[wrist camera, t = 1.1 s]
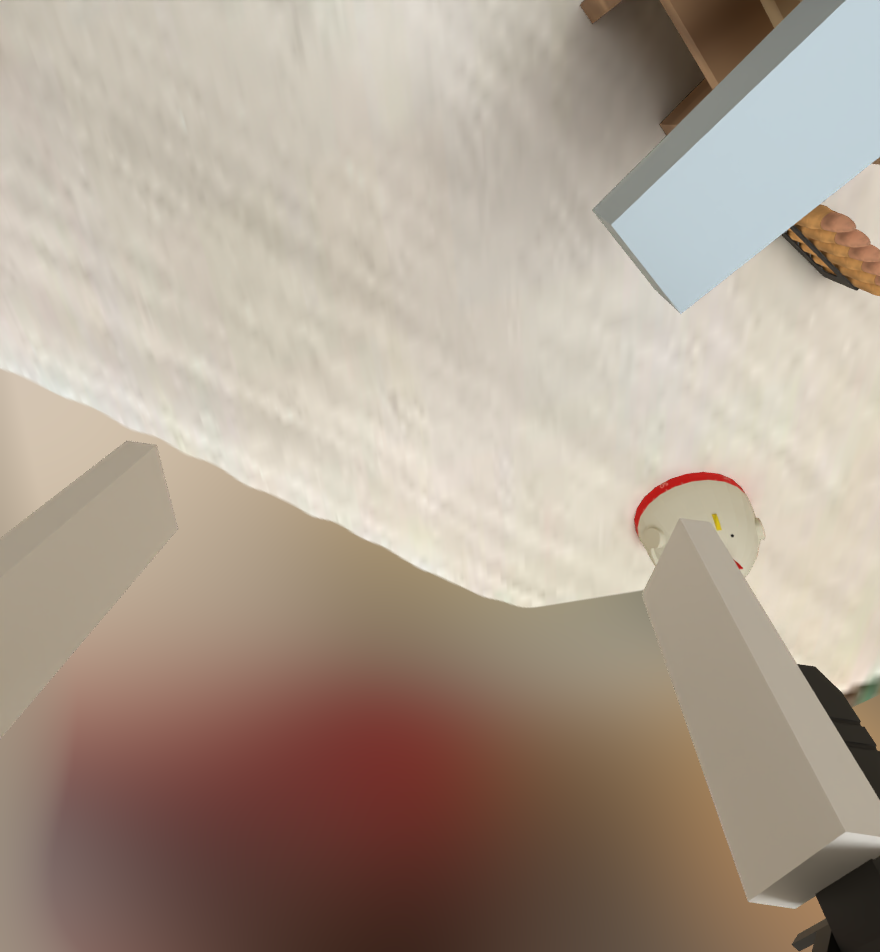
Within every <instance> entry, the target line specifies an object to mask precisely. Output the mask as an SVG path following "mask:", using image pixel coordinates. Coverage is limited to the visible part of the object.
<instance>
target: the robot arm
mask: <svg viewBox="0 0 880 952" xmlns="http://www.w3.org/2000/svg"><path fill="white" fill-rule="evenodd" d="M177 530H178V526H177V523H176V519H175V515H174V511H173V508H172V504H171V499H170V495H169V492H168V487H167V484H166V480H165V476H164V472H163V468H162V464H161V460H160V456H159V453H158V449H157V445H152V444H146V443H138V442H131V441H126V442H124V443H123V444H122V445H121V446H119V447H118V448H117V449H115V450H114V451H113V452H111V453H110V454H109V455H108V456H106V457H105V458H104V459H102V460H101V461H100V462H98V463H97V464H96V465H95V466H93V467H92V468H91V469H89V470H88V471H87V472H85V473H84V474H83V475H82V476H80V477H79V478H78V479H76V480H75V481H74V482H72V483H71V484H70V485H69V486H67V487H66V488H65V489H63V490H62V491H61V492H59V493H58V494H57V495H56V496H54V497H53V498H52V499H51V500H49V501H48V502H46V503H45V504H44V505H43V506H41V507H40V508H39V509H37V510H36V511H35V512H33V513H32V514H31V515H30V516H28V517H27V518H26V519H25V520H23V521H22V522H20V523H19V524H18V525H17V526H16V527H14V528H13V529H11V530H10V531H9V532H7V533H6V534H5V535H4V536H2V537H1V538H0V739H1V737H2V736H3V735H4V734H5V733H6V732H7V730H8V729H9V728H10V727H11V726H12V724H13V723H14V722H15V721H16V720H17V719H18V717H19V716H20V715H21V714H22V713H23V712H24V710H25V709H26V708H27V707H28V706H29V704H30V703H31V702H32V701H33V700H34V699H35V697H36V696H37V695H38V694H39V693H40V692H41V690H42V689H43V688H44V687H45V686H46V684H47V683H48V682H49V681H50V680H51V679H52V677H53V676H54V675H55V674H56V672H58V670H59V669H60V668H61V667H62V666H63V664H64V663H65V662H66V661H67V659H69V657H70V656H71V655H72V654H73V653H74V651H75V650H76V649H77V648H78V647H79V645H80V644H81V643H82V642H83V641H84V640H85V638H86V637H87V636H88V635H89V633H91V631H92V630H93V629H94V628H95V627H96V626H97V624H98V623H99V622H100V621H101V620H102V618H103V617H104V616H105V615H106V614H107V612H108V611H109V610H110V609H111V608H112V607H113V605H114V604H115V603H116V602H117V601H118V599H119V598H120V597H121V596H122V595H123V594H124V592H125V591H126V590H127V589H128V588H129V587H130V585H131V584H132V583H133V582H134V581H135V579H136V578H137V577H138V576H139V575H140V574H141V572H142V571H143V570H144V569H145V567H146V566H147V565H148V564H149V563H150V562H151V561H152V559H153V558H154V557H155V556H156V555H157V554H158V552H159V551H160V550H161V549H162V548H163V546H164V545H165V544H166V543H167V542H168V540H169V539H170V538H171V537H172V536H173V535H174V533H175V532H176V531H177ZM642 597H643V600H644V603H645V606H646V609H647V612H648V615H649V618H650V620H651V623H652V626H653V629H654V632H655V635H656V638H657V641H658V643H659V646H660V649H661V652H662V655H663V658H664V660H665V664H666V667H667V669H668V672H669V675H670V678H671V681H672V684H673V687H674V690H675V692H676V695H677V698H678V701H679V704H680V707H681V710H682V713H683V715H684V718H685V721H686V724H687V727H688V730H689V733H690V736H691V738H692V741H693V744H694V747H695V750H696V753H697V756H698V759H699V762H700V764H701V767H702V770H703V773H704V776H705V779H706V781H707V784H708V787H709V790H710V793H711V796H712V799H713V801H714V805H715V808H716V810H717V813H718V816H719V819H720V822H721V825H722V827H723V830H724V833H725V836H726V839H727V842H728V845H729V848H730V851H731V853H732V856H733V859H734V862H735V865H736V868H737V871H738V874H739V876H740V879H741V882H742V885H743V888H744V891H745V894H746V897H747V899H748V902H754V903H761V904H767V905H774V906H780V907H787V908H797V907H799V906H800V905H802V904H803V903H805V902H807V901H808V900H810V899H811V898H813V897H815V896H816V897H817V899H818V901H819V904H820V906H821V908H822V910H823V913H824V915H825V917H826V919H824V920H823V921H821V922H819V923H817V924H816V925H814V926H812V927H810V928H808V929H806V930H805V931H803V932H801V933H799V934H798V935H797V937H796V938H795V940H794V942H793V943H792V945H793V946H794V947H795V948H796V949H797V950H798V951H801V950H803V949H805V948H807V947H809V946H810V945H812V944H814V945H813V949H812V952H880V751H877V750H876V744H875V742H874V741H873V739H872V738H871V736H870V735H869V733H868V732H867V730H866V729H865V727H862V726H861V725H860V720H859V718H858V717H857V715H856V713H855V712H854V710H853V709H852V707H851V706H850V704H849V703H848V701H847V700H846V698H845V697H844V695H843V694H842V692H841V691H840V690H839V689H838V688H837V687H835V686H834V685H833V684H832V683H831V682H830V681H829V680H828V679H827V678H826V677H825V676H824V675H823V674H822V673H821V672H820V671H819V670H818V669H817V668H816V667H814V666H807V665H800V664H797V663H796V662H795V660H794V658H793V657H792V655H791V653H790V652H789V650H788V649H787V647H786V645H785V644H784V642H783V640H782V639H781V637H780V635H779V634H778V632H777V630H776V629H775V627H774V626H773V624H772V622H771V621H770V619H769V617H768V616H767V614H766V612H765V611H764V609H763V607H762V606H761V604H760V603H759V601H758V599H757V598H756V596H755V594H754V593H753V591H752V589H751V588H750V586H749V584H748V583H747V581H746V580H745V578H744V576H743V575H742V573H741V571H740V570H739V568H738V566H737V565H736V563H735V561H734V560H733V558H732V556H731V555H730V553H729V552H728V550H727V548H726V547H725V545H724V543H723V542H722V540H721V538H720V537H719V535H718V533H717V532H716V530H715V529H714V527H713V525H712V524H711V522H705V521H698V520H691V519H684V518H679V520H678V522H677V524H676V526H675V528H674V530H673V532H672V534H671V536H670V538H669V540H668V542H667V544H666V546H665V548H664V551H663V553H662V555H661V557H660V559H659V561H658V563H657V565H656V567H655V569H654V571H653V573H652V575H651V577H650V579H649V581H648V583H647V585H646V587H645V589H644V591H643V593H642Z"/></svg>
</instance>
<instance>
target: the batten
mask: <svg viewBox="0 0 880 952" xmlns="http://www.w3.org/2000/svg"><path fill="white" fill-rule="evenodd" d="M879 157H880V0H802V1H801V2H800V3H799V4H798V5H797V6H796V7H795V8H794V9H793V10H792V11H791V12H790V13H789V14H788V15H787V16H786V17H785V18H784V19H783V20H782V21H781V22H780V23H779V24H778V25H777V26H776V27H775V28H774V29H773V30H772V31H771V32H770V33H769V34H768V35H767V36H766V37H765V38H764V39H763V40H762V41H761V42H760V43H759V44H758V45H757V46H756V47H755V48H754V49H753V50H752V51H751V52H750V53H749V54H748V55H747V56H746V57H745V58H744V59H743V60H742V61H741V62H740V63H739V64H738V65H737V66H736V67H735V68H734V69H733V70H732V71H731V72H730V73H729V74H728V75H727V76H726V77H725V78H724V79H723V80H722V81H721V82H720V83H719V84H718V85H717V86H716V87H715V88H714V89H713V90H712V91H711V92H710V93H709V94H708V95H707V96H706V97H705V98H704V99H703V100H702V101H701V102H700V103H699V104H698V105H697V106H696V107H695V108H694V109H693V110H692V111H691V112H690V113H689V114H688V115H687V116H686V117H685V118H684V119H683V120H682V121H681V122H680V123H679V124H678V125H677V126H676V127H675V128H674V129H673V130H672V131H671V132H670V133H669V134H668V135H667V136H666V137H665V138H664V139H663V140H662V141H661V142H660V143H659V144H658V145H657V146H656V147H655V148H654V149H653V150H652V151H651V152H650V153H649V154H648V155H647V156H646V157H645V158H644V159H643V160H642V161H641V162H640V163H639V164H638V165H637V166H636V167H635V168H634V169H633V170H632V171H631V172H630V173H629V174H628V175H627V176H626V177H625V178H624V179H623V180H622V181H621V182H620V183H619V184H618V185H617V186H616V187H615V188H614V189H613V190H612V191H611V192H610V193H609V194H608V195H607V196H606V197H605V198H604V199H603V200H602V201H601V202H600V203H599V204H598V205H597V206H596V207H595V208H594V209H593V212H594V213H595V214H596V215H597V217H598V218H599V219H600V221H601V222H602V223H603V224H604V226H605V227H606V228H607V229H608V231H609V232H610V233H611V234H612V236H613V237H614V238H615V240H616V241H617V242H618V243H619V245H620V246H621V247H622V248H623V250H624V251H625V252H626V253H627V255H628V256H629V257H630V259H631V260H632V261H633V262H634V264H635V265H636V266H637V267H638V269H639V270H640V271H641V272H642V274H643V275H644V276H645V278H646V279H647V280H648V281H649V283H650V284H651V285H652V286H653V288H654V289H655V290H656V291H657V292H658V293H659V294H660V295H661V296H662V297H663V298H665V299H666V300H667V301H668V302H669V303H670V304H671V305H672V306H673V307H674V308H675V309H676V310H677V311H678V312H679V313H680V314H681V313H683V312H684V311H685V310H686V309H688V308H689V307H690V306H692V305H693V304H694V303H695V302H697V301H698V300H699V299H700V298H702V297H703V296H704V295H705V294H707V293H708V292H709V291H711V290H712V289H713V288H714V287H716V286H717V285H718V284H719V283H721V282H722V281H723V280H724V279H726V278H727V277H728V276H730V275H731V274H732V273H733V272H735V271H736V270H737V269H738V268H740V267H741V266H742V265H743V264H745V263H746V262H747V261H749V260H750V259H751V258H752V257H754V256H755V255H756V254H757V253H759V252H760V251H761V250H762V249H764V248H765V247H766V246H768V245H769V244H770V243H771V242H773V241H774V240H775V239H776V238H778V237H779V236H780V235H781V234H783V233H784V232H785V231H787V230H788V229H789V228H790V227H792V226H793V225H794V224H795V223H797V222H798V221H799V220H800V219H802V218H803V217H804V216H806V215H807V214H808V213H809V212H811V211H812V210H813V209H814V208H816V207H817V206H818V205H819V204H821V203H822V202H823V201H825V200H826V199H827V198H828V197H830V196H831V195H832V194H833V193H835V192H836V191H837V190H838V189H840V188H841V187H842V186H844V185H845V184H846V183H847V182H849V181H850V180H851V179H852V178H854V177H855V176H856V175H857V174H859V173H860V172H861V171H863V170H864V169H865V168H866V167H868V166H869V165H870V164H871V163H873V162H874V161H875V160H876V159H878V158H879Z"/></svg>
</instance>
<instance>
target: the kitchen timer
mask: <svg viewBox="0 0 880 952" xmlns="http://www.w3.org/2000/svg"><path fill="white" fill-rule="evenodd" d="M679 518H684V519H691V520H698V521H705V522H711V524H712V525H713V527H714V529H715V530H716V532H717V533H718V535H719V537H720V538H721V540H722V542H723V543H724V545H725V547H726V548H727V550H728V552H729V553H730V555H731V556H732V558H733V560H734V561H735V563H736V565H737V566H738V568H739V570H740V571H741V573H742V575H743V576H744V578H745V577H746V576H747V575H748V574H749V572H750V570H751V568H752V566H753V564H754V562H755V560H756V558H757V555H758V549H759V544H760V541H761V539H765V531H764V528H763V525H762V523H761V521H760V519H759V518H756V517H755V513H754V511H753V508H752V506H751V504H750V501H749V499H748V497H747V495H746V494H745V492H744V491H743V489H742V488H741V487H740V486H739V485H738V484H737V483H736V482H735V481H733V480H732V479H730V478H728V477H725V476H723V475H720V474H716V473H707V472H700V473H691V474H685V475H682V476H679V477H675V478H672V479H670V480H668V481H666V482H664V483H662V484H661V485H659V486H657V487H655V488H654V489H653V490H652V491H651V492H650V493H649V494H648V495H646V496H645V497H644V499H643V500H642V502H641V503H640V505H639V506H638V508H637V511H636V515H635V518H634V521H635V528H636V532H637V534H638V537H639V539H640V541H641V542H642V544H643V546H644V547H645V549H646V550H647V553H648V555H649V556H650V558H651V560H652V562H653V563H654V565H655V566H656V565H657V563H658V561H659V559H660V557H661V555H662V553H663V551H664V548H665V546H666V544H667V542H668V540H669V538H670V536H671V534H672V532H673V530H674V528H675V526H676V524H677V522H678V520H679Z"/></svg>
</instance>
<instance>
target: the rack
mask: <svg viewBox="0 0 880 952" xmlns="http://www.w3.org/2000/svg"><path fill="white" fill-rule="evenodd" d="M621 1H622V0H584V1H583V2H582V3H581V5H580V6H581V7H582V9H583V10H584V12H585V13H586V15H587V16H588V18H589V20H590V21H591V23H592V24H593V23H594V22H595V21H597V20H598V19H599V18H601V17H602V16H603V15H604V14H606V13H607V12H608V11H610V10H611V9H612V8H613V7H615V6H616V5H617V4H618V3H620V2H621ZM801 1H802V0H660V2H661V4H662V6H663V7H664V9H665V11H666V12H667V14H668V16H669V17H670V19H671V21H672V22H673V24H674V26H675V27H676V29H677V31H678V32H679V34H680V36H681V37H682V39H683V41H684V42H685V44H686V46H687V47H688V49H689V51H690V53H691V54H692V56H693V58H694V59H695V61H696V63H697V64H698V66H699V68H700V69H701V71H702V73H703V74H704V76H705V79H704V80H703V81H702V82H701V83H700V84H699V85H698V86H697V87H696V88H695V89H694V90H693V91H692V92H691V93H690V94H689V95H688V96H687V97H686V98H685V99H684V100H683V101H682V102H681V103H680V104H679V105H678V106H677V107H676V108H675V109H674V110H673V111H672V112H671V113H670V114H669V115H668V116H667V117H666V118H665V119H664V120H663V121H662V122H661V123H660V124H659V125H660V126H661V128H662V129H663V131H664V132H665V134H666V135H668V134H669V133H670V132H671V131H672V130H673V129H674V128H675V127H676V126H677V125H678V124H679V123H680V122H681V121H682V120H683V119H684V118H685V117H686V116H687V115H688V114H689V113H690V112H691V111H692V110H693V109H694V108H695V107H696V106H697V105H698V104H699V103H700V102H701V101H702V100H703V99H704V98H705V97H706V96H707V95H708V94H709V93H710V92H711V91H712V90H713V89H714V88H715V87H716V86H717V85H718V84H719V83H720V82H721V81H722V80H723V79H724V78H725V77H726V76H727V75H728V74H729V73H730V72H731V71H732V70H733V69H734V68H735V67H736V66H737V65H738V64H739V63H740V62H741V61H742V60H743V59H744V58H745V57H746V56H747V55H748V54H749V53H750V52H751V51H752V50H753V49H754V48H755V47H756V46H757V45H758V44H759V43H760V42H761V41H762V40H763V39H764V38H765V37H766V36H767V35H768V34H769V33H770V32H771V31H772V30H773V29H774V28H775V27H776V26H777V25H778V24H779V23H780V22H781V21H782V20H783V19H784V18H785V17H786V16H787V15H788V14H789V13H790V12H791V11H792V10H793V9H794V8H795V7H796V6H797V5H798V4H799V3H800V2H801ZM871 164H880V157H879V158H878V159H876V160H875V161H874V162H873V163H871Z"/></svg>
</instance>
